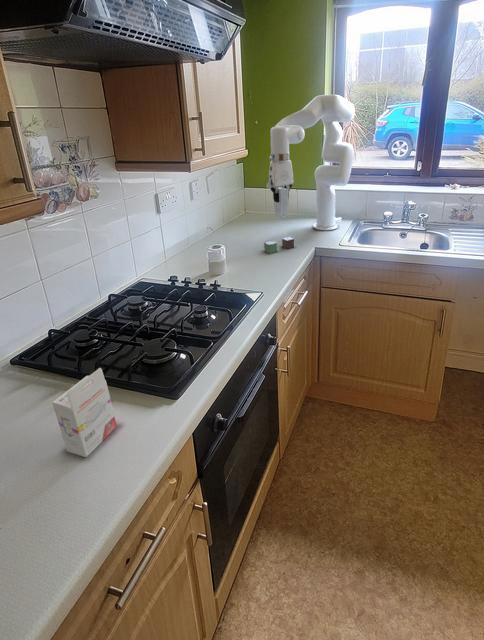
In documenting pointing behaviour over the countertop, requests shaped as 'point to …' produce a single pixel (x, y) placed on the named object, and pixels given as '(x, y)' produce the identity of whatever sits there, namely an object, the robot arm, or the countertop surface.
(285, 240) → the walnut block
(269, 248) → the sage block
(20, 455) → the countertop surface
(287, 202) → the cosmetic box
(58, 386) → the countertop surface
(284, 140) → the robot arm
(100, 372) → the ink cartridge box
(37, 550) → the countertop surface
